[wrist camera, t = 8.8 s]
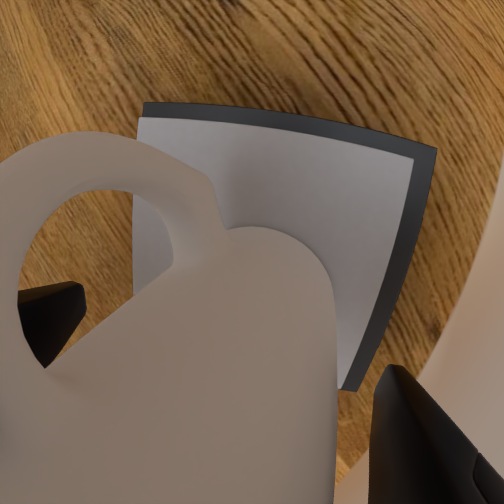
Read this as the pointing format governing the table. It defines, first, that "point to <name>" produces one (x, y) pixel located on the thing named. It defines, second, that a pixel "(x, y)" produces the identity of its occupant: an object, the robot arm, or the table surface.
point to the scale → (301, 203)
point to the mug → (168, 351)
